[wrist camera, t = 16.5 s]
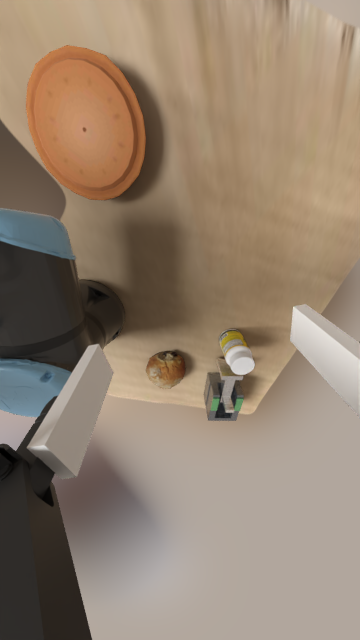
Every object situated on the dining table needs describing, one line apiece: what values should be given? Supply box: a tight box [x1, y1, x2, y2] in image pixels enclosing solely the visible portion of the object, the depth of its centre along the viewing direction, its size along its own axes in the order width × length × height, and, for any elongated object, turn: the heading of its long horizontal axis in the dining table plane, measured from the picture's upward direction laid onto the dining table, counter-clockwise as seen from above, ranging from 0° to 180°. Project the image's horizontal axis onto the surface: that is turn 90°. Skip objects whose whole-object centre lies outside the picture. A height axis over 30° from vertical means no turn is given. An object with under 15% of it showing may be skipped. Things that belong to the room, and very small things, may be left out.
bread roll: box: [146, 351, 185, 389], centre depth 51 cm, size 10×10×8 cm
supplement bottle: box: [219, 329, 255, 375], centre depth 44 cm, size 6×6×10 cm
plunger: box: [216, 359, 244, 413], centre depth 49 cm, size 10×5×9 cm, turn 177°
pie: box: [26, 45, 146, 200], centre depth 28 cm, size 16×16×5 cm
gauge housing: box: [204, 373, 244, 421], centre depth 54 cm, size 10×8×8 cm
